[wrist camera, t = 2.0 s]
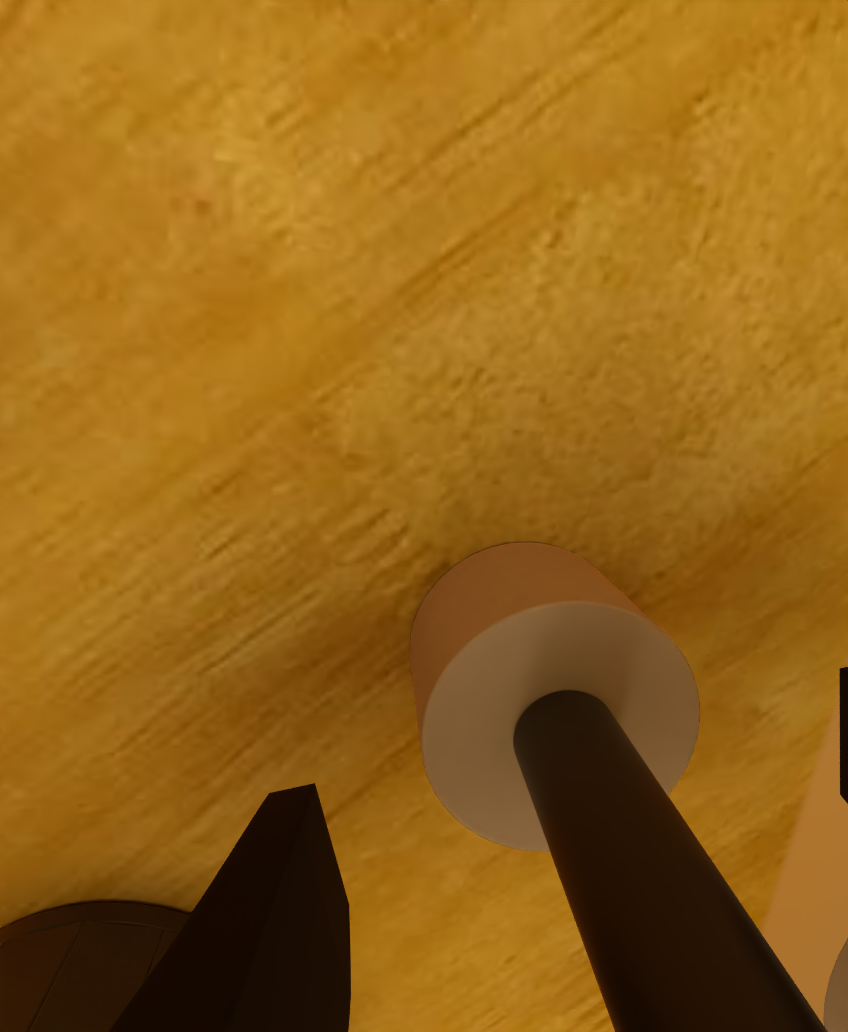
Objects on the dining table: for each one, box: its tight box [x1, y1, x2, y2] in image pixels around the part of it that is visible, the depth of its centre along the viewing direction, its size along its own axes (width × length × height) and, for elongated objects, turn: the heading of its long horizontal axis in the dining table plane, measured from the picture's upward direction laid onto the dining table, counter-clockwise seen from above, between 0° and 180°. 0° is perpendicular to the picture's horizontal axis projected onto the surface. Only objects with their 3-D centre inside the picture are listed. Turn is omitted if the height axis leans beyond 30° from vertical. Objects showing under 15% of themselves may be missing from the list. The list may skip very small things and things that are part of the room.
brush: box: [410, 542, 828, 1032], centre depth 8 cm, size 4×4×8 cm
